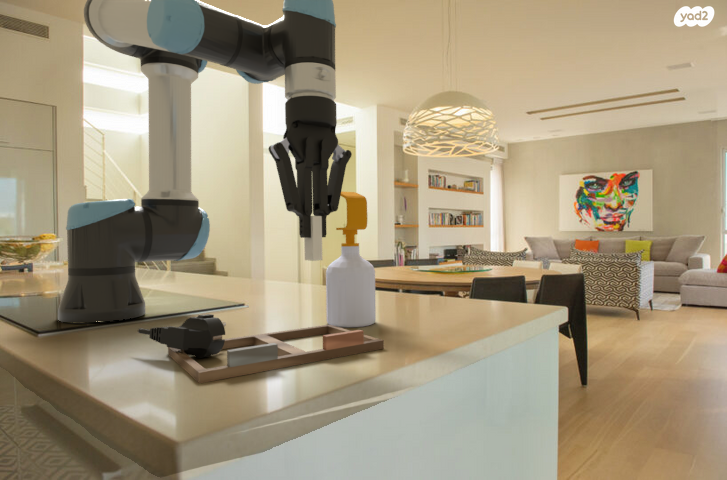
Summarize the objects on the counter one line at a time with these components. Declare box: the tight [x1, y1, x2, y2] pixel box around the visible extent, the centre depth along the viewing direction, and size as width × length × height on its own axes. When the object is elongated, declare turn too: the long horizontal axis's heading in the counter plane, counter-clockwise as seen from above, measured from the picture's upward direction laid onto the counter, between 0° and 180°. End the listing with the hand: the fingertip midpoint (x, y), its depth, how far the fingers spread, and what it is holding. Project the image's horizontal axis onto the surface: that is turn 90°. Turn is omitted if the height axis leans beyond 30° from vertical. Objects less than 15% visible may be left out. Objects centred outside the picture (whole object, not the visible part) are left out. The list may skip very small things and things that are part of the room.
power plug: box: [137, 313, 226, 359], centre depth 65 cm, size 6×8×12 cm
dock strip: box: [167, 324, 385, 384], centre depth 66 cm, size 15×26×3 cm, turn 125°
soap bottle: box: [325, 191, 377, 329], centre depth 86 cm, size 9×9×25 cm
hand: (313, 260), depth 69 cm, fingers closed
